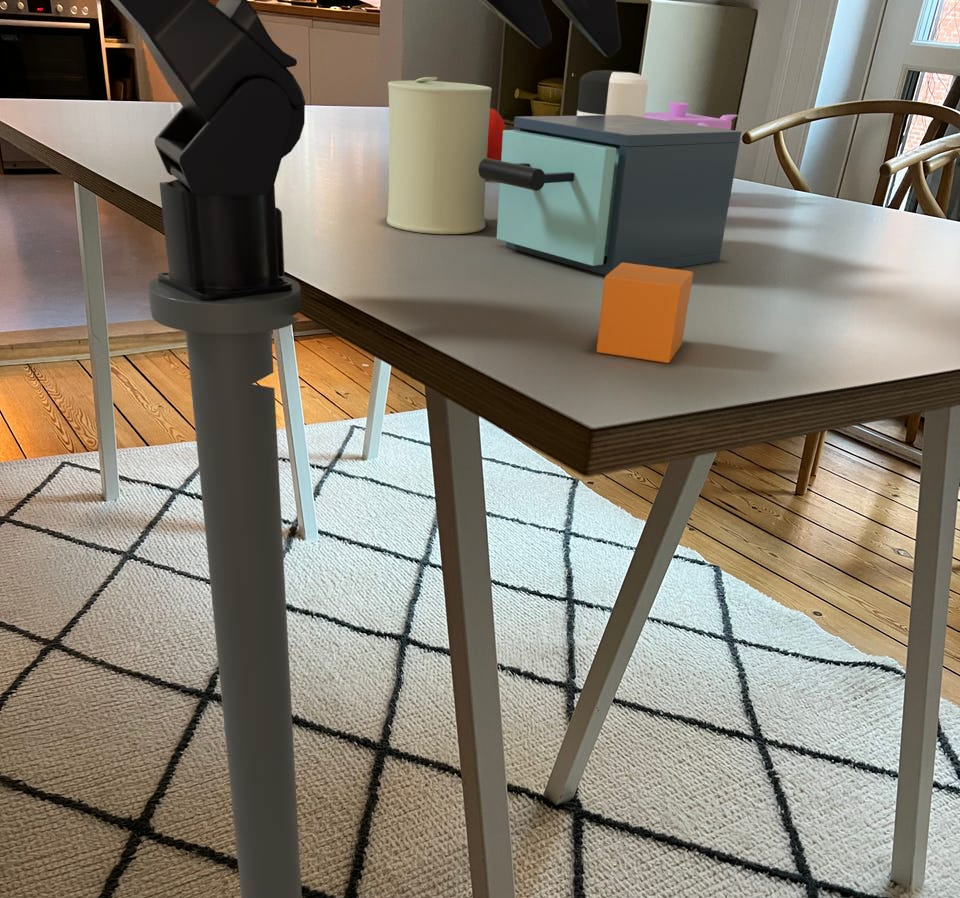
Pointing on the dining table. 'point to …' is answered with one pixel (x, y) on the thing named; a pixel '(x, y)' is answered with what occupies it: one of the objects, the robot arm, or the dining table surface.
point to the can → (437, 155)
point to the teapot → (691, 117)
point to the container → (612, 93)
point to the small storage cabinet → (656, 187)
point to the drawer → (555, 194)
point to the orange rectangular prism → (644, 312)
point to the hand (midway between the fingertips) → (578, 48)
